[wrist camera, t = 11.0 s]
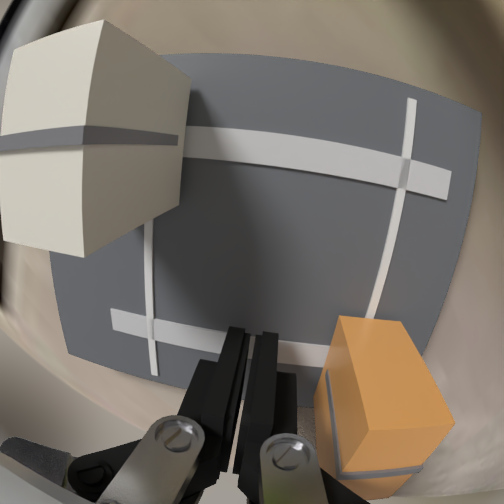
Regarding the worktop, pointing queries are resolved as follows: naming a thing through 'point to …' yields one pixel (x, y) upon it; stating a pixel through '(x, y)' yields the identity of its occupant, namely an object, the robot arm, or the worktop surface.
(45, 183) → the fader ivory
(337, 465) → the fader orange
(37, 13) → the worktop surface
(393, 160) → the mixer panel
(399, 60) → the worktop surface
